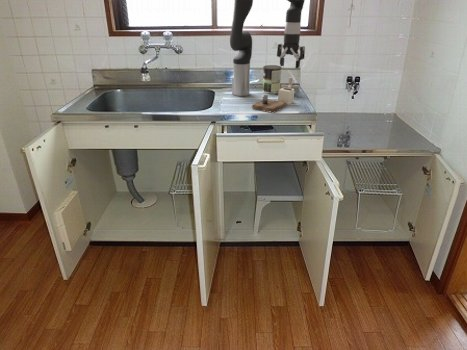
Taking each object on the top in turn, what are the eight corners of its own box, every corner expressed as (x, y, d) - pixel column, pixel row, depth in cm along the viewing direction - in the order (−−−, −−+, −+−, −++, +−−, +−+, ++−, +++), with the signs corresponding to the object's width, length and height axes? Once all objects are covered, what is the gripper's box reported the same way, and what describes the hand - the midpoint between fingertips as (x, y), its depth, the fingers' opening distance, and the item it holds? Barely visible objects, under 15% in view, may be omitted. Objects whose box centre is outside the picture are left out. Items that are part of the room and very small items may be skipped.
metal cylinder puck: (261, 103, 174) (261, 95, 172) (264, 102, 176) (264, 94, 174) (265, 104, 173) (266, 96, 171) (268, 103, 175) (268, 95, 173)
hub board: (252, 108, 174) (252, 104, 173) (265, 102, 183) (265, 98, 182) (273, 112, 167) (273, 108, 166) (285, 106, 177) (286, 102, 176)
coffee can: (261, 93, 199) (262, 68, 193) (263, 89, 208) (263, 64, 202) (279, 94, 198) (281, 68, 191) (280, 89, 207) (281, 65, 200)
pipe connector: (298, 98, 190) (299, 79, 185) (279, 97, 191) (280, 79, 187) (298, 93, 198) (300, 75, 194) (281, 92, 200) (282, 75, 195)
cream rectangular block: (277, 103, 182) (278, 88, 178) (283, 100, 186) (284, 86, 182) (288, 105, 179) (289, 90, 175) (293, 102, 183) (294, 87, 179)
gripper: (275, 32, 167) (273, 66, 175) (301, 34, 159) (298, 70, 167) (283, 30, 172) (281, 64, 180) (309, 32, 165) (305, 67, 172)
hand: (289, 67), depth 174 cm, fingers open, 8 cm apart
